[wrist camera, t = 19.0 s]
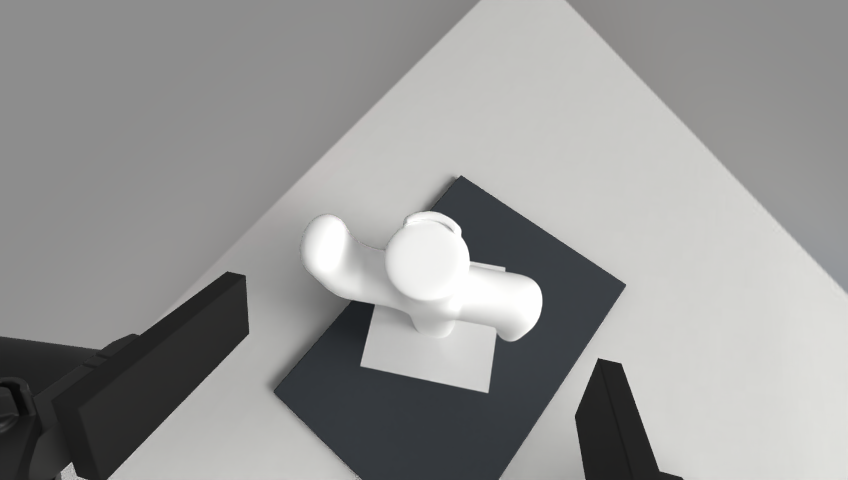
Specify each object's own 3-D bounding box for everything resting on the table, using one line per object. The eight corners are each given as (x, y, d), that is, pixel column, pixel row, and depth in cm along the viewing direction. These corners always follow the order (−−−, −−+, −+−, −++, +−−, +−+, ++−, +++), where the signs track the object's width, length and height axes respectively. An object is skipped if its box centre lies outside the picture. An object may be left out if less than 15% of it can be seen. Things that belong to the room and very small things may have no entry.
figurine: (500, 397, 25) (567, 398, 11) (354, 366, 26) (253, 333, 12) (514, 286, 28) (583, 175, 14) (380, 262, 29) (320, 136, 15)
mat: (445, 557, 23) (444, 561, 23) (276, 391, 27) (272, 391, 26) (623, 287, 28) (626, 284, 28) (460, 178, 32) (460, 174, 31)
